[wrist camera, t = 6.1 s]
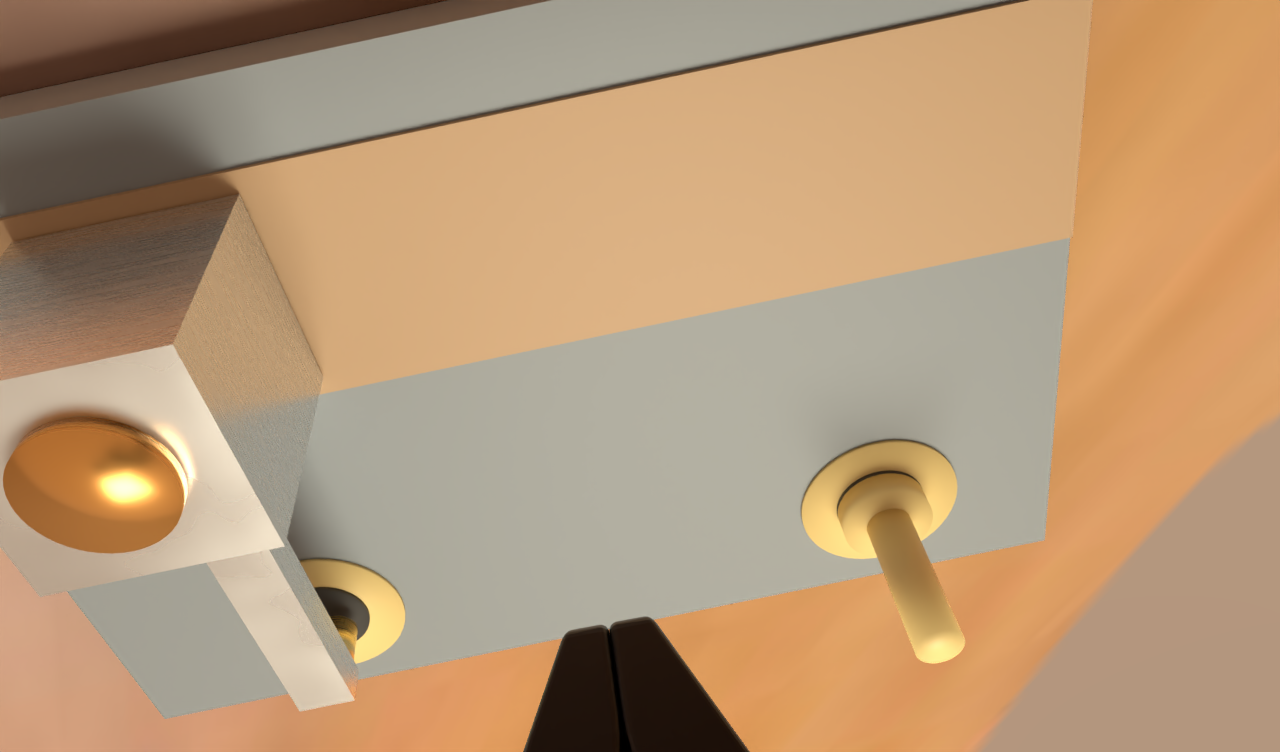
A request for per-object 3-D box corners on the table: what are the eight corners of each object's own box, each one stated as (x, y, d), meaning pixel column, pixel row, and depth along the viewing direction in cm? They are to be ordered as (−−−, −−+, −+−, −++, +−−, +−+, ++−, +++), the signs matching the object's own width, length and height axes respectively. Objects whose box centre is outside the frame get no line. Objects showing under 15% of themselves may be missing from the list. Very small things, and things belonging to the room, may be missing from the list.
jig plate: (1066, -134, 17) (1255, -46, 13) (1024, 505, 26) (1127, 683, 22) (-214, 143, 18) (-443, 316, 13) (177, 679, 27) (114, 886, 22)
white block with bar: (239, 194, 18) (167, 357, 14) (430, 610, 24) (417, 799, 20) (10, 242, 18) (-123, 418, 14) (262, 644, 24) (218, 839, 21)
